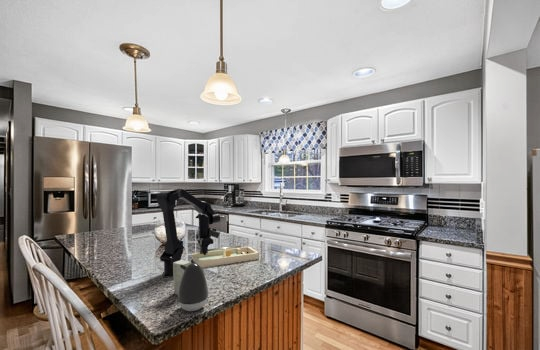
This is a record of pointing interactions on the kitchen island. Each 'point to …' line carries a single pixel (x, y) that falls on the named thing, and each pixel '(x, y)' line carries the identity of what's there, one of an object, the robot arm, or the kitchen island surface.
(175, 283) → the skincare box
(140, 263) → the kitchen island surface
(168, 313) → the kitchen island surface
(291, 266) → the kitchen island surface
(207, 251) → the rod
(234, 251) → the tray
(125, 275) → the kitchen island surface
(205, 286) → the pump dispenser
